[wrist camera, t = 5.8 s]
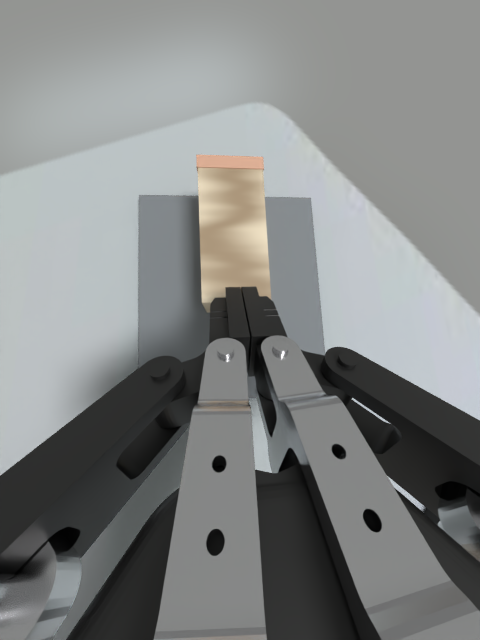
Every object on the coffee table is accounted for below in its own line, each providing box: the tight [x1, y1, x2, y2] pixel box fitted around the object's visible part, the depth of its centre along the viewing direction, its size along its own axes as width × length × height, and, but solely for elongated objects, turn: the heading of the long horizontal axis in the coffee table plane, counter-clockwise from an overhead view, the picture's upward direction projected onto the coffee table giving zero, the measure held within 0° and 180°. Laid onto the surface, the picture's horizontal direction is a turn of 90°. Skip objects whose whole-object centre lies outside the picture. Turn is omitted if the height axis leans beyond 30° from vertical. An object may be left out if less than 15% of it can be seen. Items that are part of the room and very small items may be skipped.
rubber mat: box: [138, 195, 325, 398], centre depth 16 cm, size 14×16×1 cm
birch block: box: [196, 155, 271, 313], centre depth 14 cm, size 4×4×9 cm
